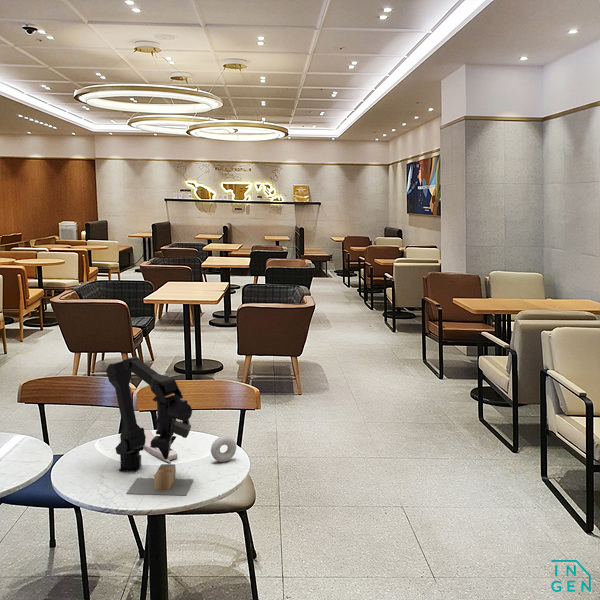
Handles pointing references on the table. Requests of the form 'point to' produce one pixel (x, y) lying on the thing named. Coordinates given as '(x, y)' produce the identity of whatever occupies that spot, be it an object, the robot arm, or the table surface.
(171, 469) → the oak block
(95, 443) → the table surface
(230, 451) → the donut
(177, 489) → the charcoal mat
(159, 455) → the mobile phone
